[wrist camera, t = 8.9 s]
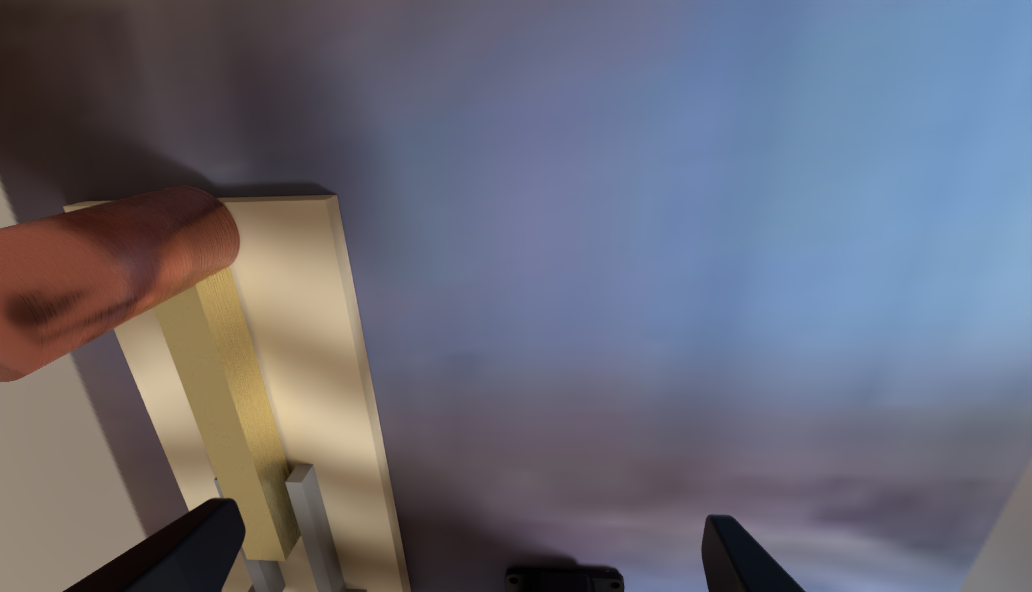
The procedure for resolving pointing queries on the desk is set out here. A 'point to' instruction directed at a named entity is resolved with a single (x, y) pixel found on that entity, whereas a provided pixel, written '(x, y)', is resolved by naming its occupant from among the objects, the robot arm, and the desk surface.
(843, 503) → the desk surface
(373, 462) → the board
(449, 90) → the desk surface
